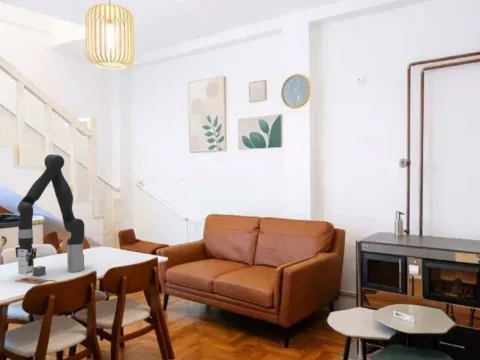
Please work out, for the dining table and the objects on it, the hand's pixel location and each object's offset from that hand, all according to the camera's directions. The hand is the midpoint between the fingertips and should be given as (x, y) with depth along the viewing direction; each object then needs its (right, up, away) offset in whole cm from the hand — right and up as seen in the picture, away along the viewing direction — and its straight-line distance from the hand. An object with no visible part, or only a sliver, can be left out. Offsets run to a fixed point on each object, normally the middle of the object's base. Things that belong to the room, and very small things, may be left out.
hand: (26, 265), depth 228 cm
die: (+2, -9, +11) cm, 14 cm away
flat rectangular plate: (+8, -9, -3) cm, 12 cm away
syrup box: (0, -5, 0) cm, 5 cm away
